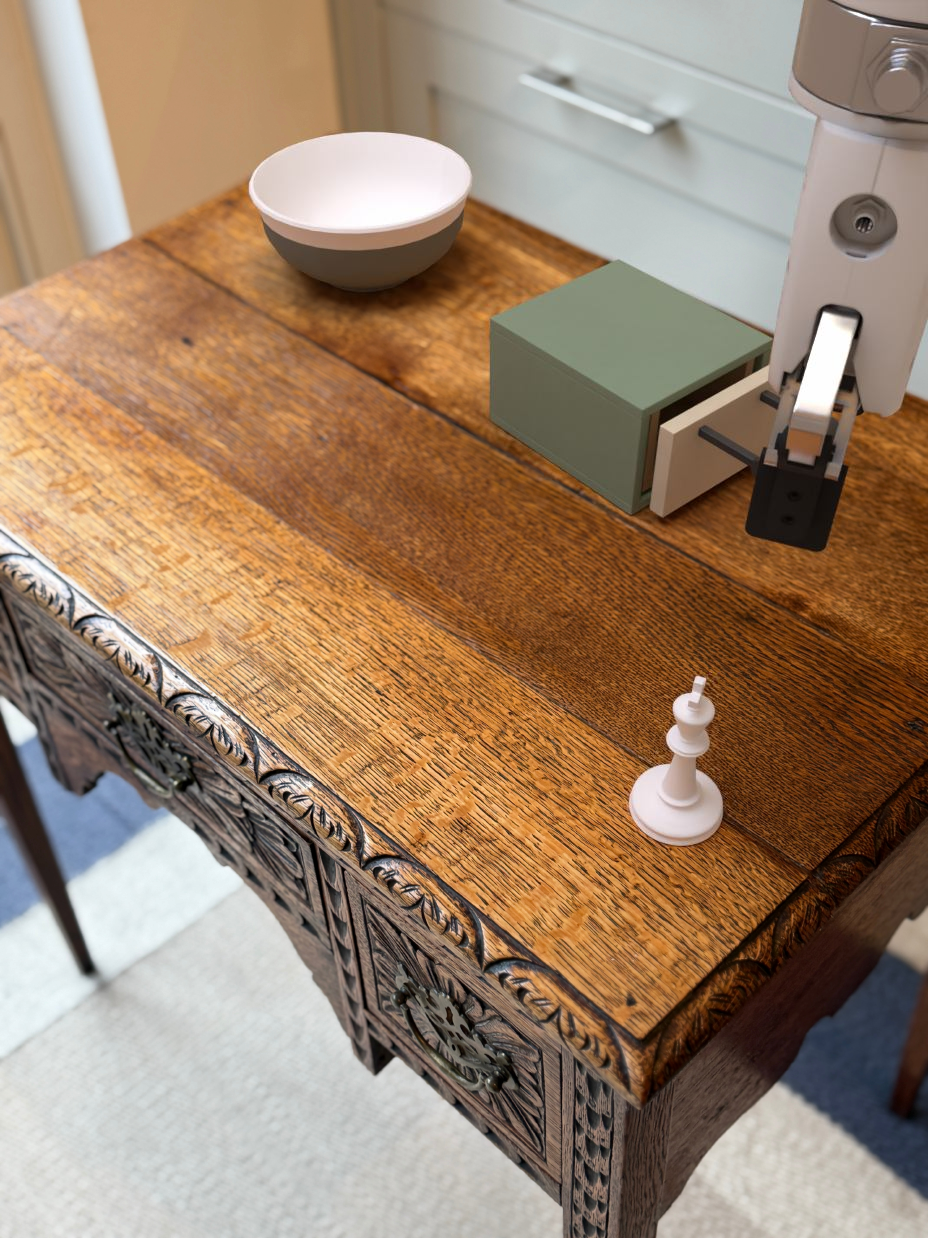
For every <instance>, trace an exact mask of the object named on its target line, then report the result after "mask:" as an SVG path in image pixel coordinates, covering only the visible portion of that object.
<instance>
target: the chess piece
mask: <svg viewBox="0 0 928 1238" xmlns="http://www.w3.org/2000/svg"><path fill="white" fill-rule="evenodd" d="M693 680H694V681H693V684H692V690H691V692H686V693H683V694H681V695H679V696H678V697H677V698H676V699H675V700H674V701H673V704H672V714H673V717H674V719H675V723H676V724H674V725H673V726H671V728H670V729H669V730H668V731H667V733H666V736H665V741H666V745H667V747H668V748H669V749H670V750H671V751H672V753H673V757H672V759H671V761H670V763H664V764H659V765H655V766H653V767H650V768H649V769H646V770H645V771H643V772H642V774H640V775H639V777H638V778H637V779H636V781H635V782H634V784H633V786H632V789H631V791H630V793H629V798H628V808H629V813H630V816H631V818H632V820H633V822H634V823H635V825H636V826H637V827H638V828H639V829H640V830H641V831H642V832H643V833H644V834H645V835H647V836H648V837H650V838H651V839H653V840H655V841H656V842H660V843H663V844H666V845H671V846H678V847H683V846H684V847H685V846H693V845H697V844H699V843H703V842H704V841H706V840H709V838H710V837H712V836H713V835H714V834H715V833H716V832H717V830H718V829H719V828H720V826H721V823H722V821H723V818H724V817H723V816H724V801H723V796H722V794H721V791H720V789H719V787H718V786H717V784H716V783H715V782H714V780H712V778H710V777H709V776H708V775H707V774H706V773H704V772H702V771H701V770H699V769H697V758H698V757H701V756H703V755H704V754H706V753H707V751H708V750H709V748H710V745H711V742H710V740H711V739H710V736H709V734H708V732H707V731H706V728H707V727H708V726H709V725H710V723H711V722H712V721H713V720H714V717H715V714H716V708H715V706H714V703H713V702H712V701H711V700H710V699H709V698H708V697H707V696H705V695H703V692H704V689H705V686H706V683H707V678H706V677H703V676H700V675H695V676H694V679H693Z"/></svg>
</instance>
